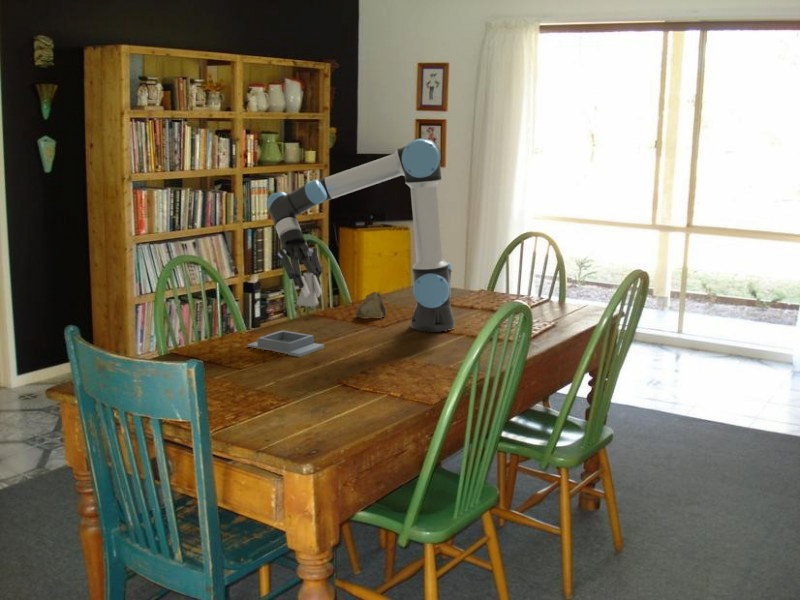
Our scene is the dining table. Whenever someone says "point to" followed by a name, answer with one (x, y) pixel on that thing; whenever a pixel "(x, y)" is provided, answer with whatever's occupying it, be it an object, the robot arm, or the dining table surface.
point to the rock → (371, 306)
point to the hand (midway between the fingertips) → (313, 294)
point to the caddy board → (288, 343)
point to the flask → (312, 298)
